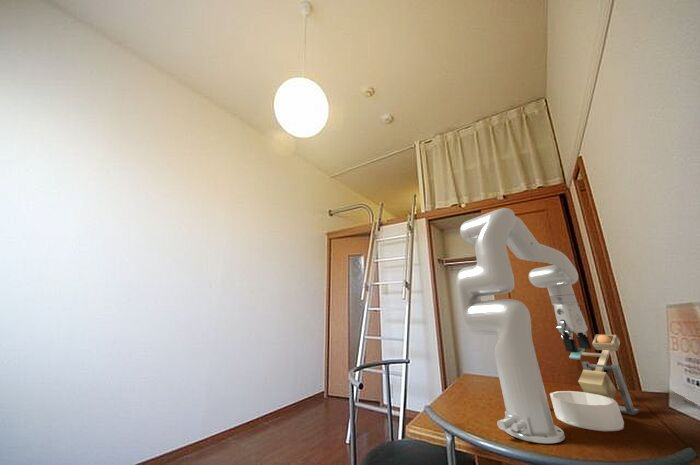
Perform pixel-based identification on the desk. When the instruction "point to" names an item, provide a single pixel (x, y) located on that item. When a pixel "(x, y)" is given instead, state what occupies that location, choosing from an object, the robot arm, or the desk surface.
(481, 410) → the desk surface
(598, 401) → the bowl
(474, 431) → the desk surface
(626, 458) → the desk surface
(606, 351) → the lever
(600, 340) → the ball
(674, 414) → the desk surface
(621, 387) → the pivot stand
